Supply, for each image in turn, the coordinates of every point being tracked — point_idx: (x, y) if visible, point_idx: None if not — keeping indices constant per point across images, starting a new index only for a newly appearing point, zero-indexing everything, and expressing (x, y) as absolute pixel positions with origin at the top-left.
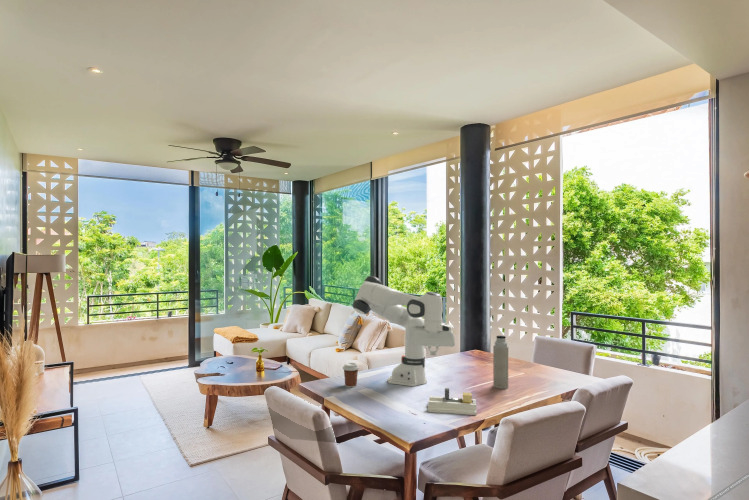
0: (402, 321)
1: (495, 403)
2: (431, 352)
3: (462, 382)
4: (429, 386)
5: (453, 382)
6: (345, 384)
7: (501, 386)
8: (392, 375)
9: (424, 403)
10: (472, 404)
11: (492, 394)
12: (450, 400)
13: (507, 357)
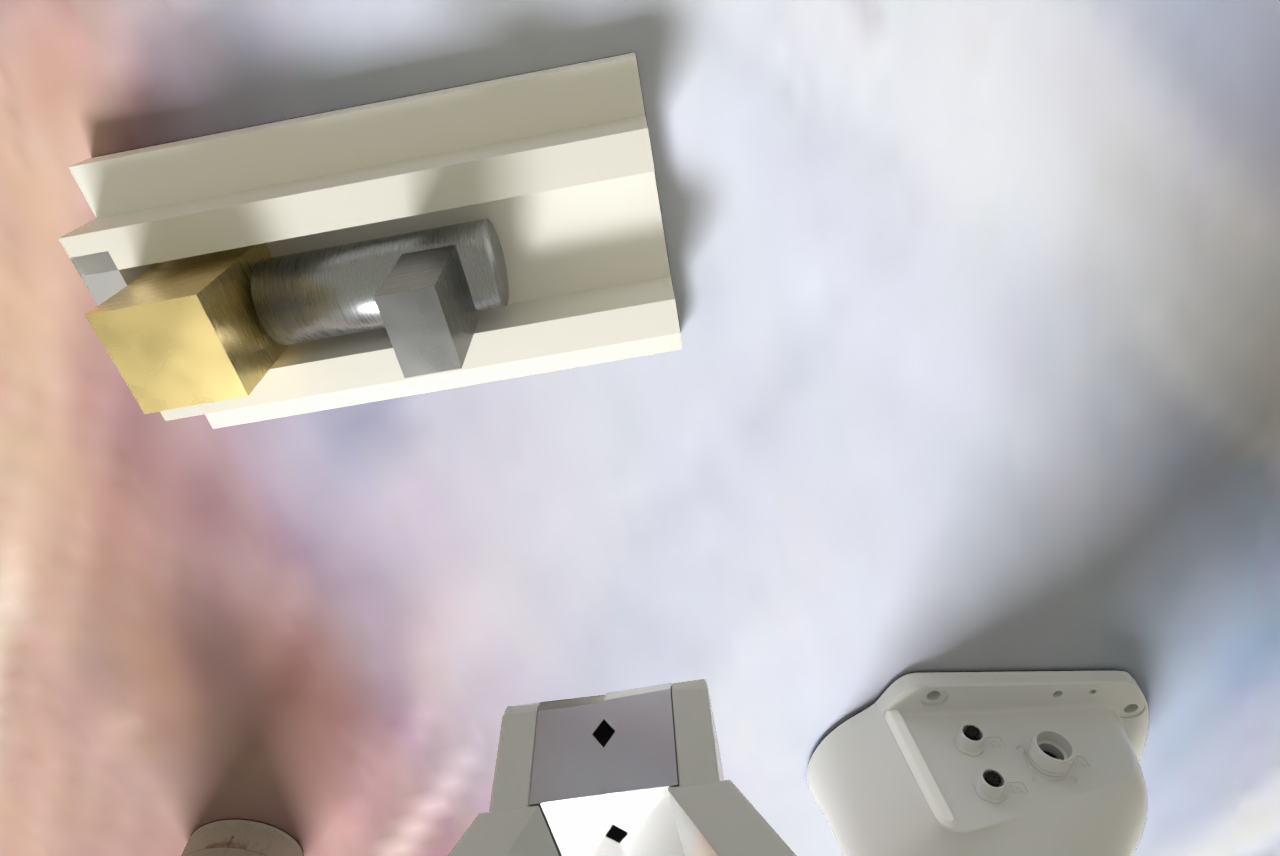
0: None
1: (100, 536)
2: (670, 758)
3: None
4: (769, 709)
5: None
6: None
7: (214, 836)
8: (1133, 750)
9: (732, 306)
10: (104, 233)
11: (227, 706)
12: (390, 254)
13: None
